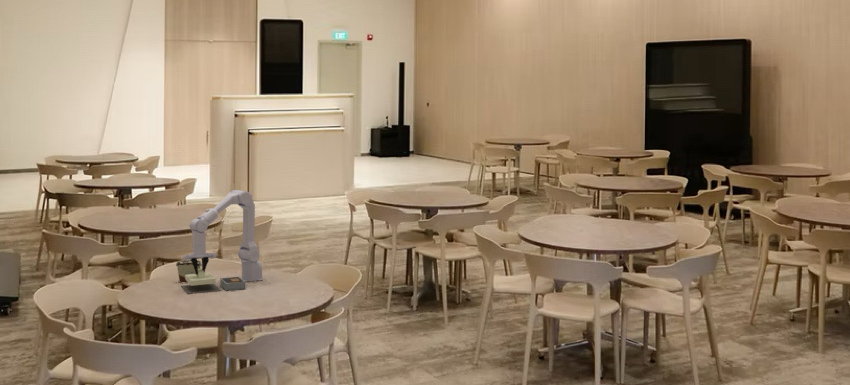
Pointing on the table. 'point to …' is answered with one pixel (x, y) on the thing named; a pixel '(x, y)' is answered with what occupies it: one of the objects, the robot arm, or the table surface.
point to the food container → (186, 269)
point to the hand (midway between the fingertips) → (200, 274)
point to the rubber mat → (200, 288)
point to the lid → (200, 278)
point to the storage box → (232, 283)
